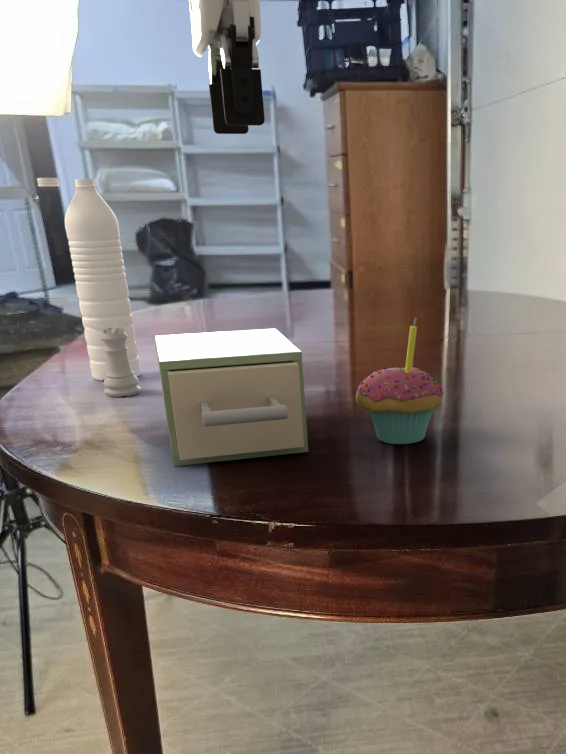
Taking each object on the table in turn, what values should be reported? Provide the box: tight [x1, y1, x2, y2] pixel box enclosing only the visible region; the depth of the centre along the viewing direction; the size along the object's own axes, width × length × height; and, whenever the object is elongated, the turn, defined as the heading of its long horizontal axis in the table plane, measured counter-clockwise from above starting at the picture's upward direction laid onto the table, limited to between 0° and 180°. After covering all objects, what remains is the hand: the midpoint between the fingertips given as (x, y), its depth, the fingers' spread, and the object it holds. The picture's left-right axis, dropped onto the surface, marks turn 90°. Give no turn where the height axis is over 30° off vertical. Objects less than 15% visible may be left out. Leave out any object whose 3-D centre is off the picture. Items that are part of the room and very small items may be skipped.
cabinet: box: [154, 327, 309, 467], centre depth 77 cm, size 15×13×10 cm
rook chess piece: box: [100, 327, 142, 398], centre depth 96 cm, size 4×4×8 cm
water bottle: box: [36, 177, 142, 381], centre depth 102 cm, size 9×6×25 cm
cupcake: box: [355, 317, 444, 445], centre depth 76 cm, size 9×8×12 cm
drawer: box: [168, 362, 304, 460], centre depth 73 cm, size 19×11×8 cm, turn 18°
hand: (238, 129), depth 68 cm, fingers open, 9 cm apart
